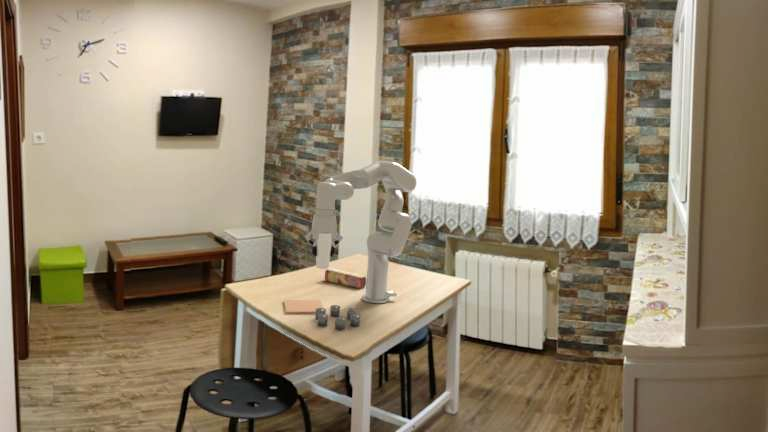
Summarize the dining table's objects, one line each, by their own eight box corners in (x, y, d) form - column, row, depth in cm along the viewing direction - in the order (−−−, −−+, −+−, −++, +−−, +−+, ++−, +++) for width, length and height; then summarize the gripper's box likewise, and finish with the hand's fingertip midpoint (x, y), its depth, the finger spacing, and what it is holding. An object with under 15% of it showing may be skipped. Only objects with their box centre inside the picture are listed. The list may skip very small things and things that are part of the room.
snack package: (366, 287, 298) (367, 273, 297) (359, 290, 292) (360, 276, 291) (330, 279, 307) (331, 266, 306) (323, 281, 301) (323, 268, 300)
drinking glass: (315, 269, 244) (317, 233, 241) (313, 265, 250) (315, 229, 248) (331, 269, 245) (333, 233, 243) (329, 265, 252) (331, 230, 249)
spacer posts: (354, 314, 255) (354, 305, 254) (362, 330, 236) (362, 320, 236) (313, 314, 251) (314, 305, 250) (319, 330, 233) (319, 320, 232)
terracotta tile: (320, 302, 268) (320, 299, 267) (324, 313, 252) (324, 311, 252) (283, 302, 264) (283, 299, 264) (285, 314, 249) (286, 311, 248)
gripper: (344, 211, 250) (342, 253, 253) (302, 210, 246) (300, 253, 248) (347, 214, 243) (345, 258, 246) (305, 213, 238) (303, 257, 241)
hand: (323, 255), depth 247 cm, fingers closed on drinking glass, 6 cm apart
